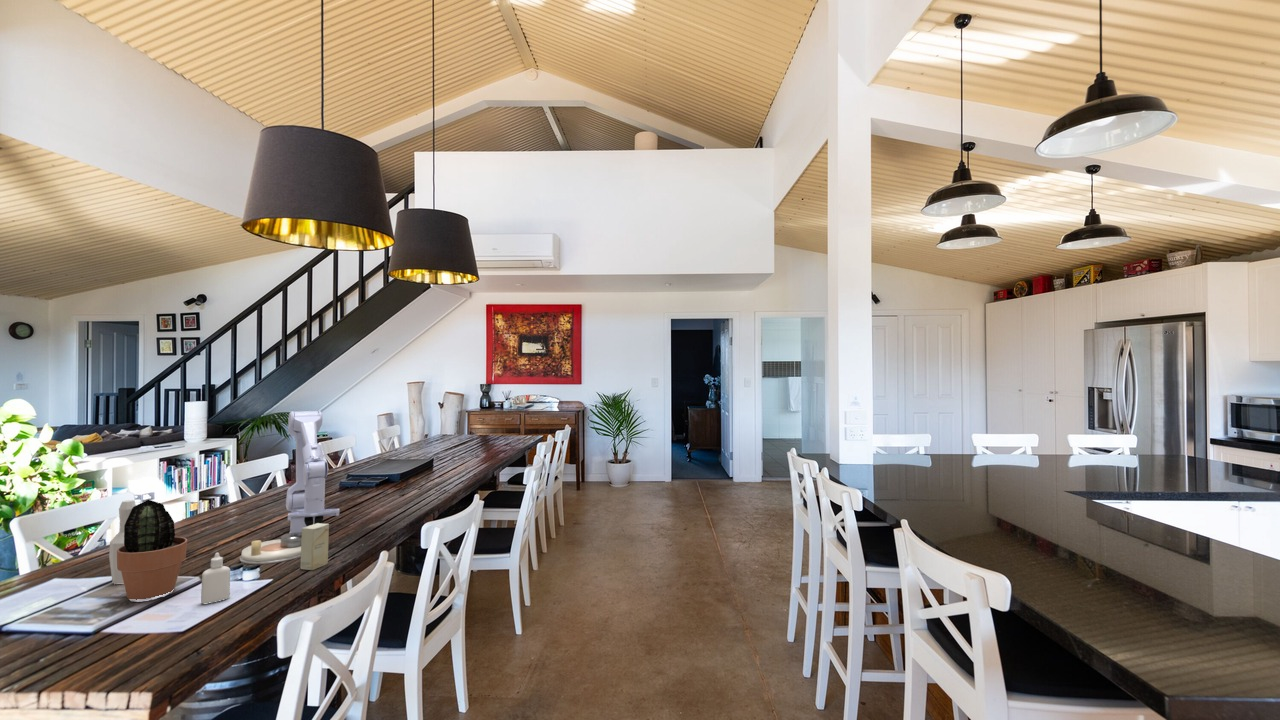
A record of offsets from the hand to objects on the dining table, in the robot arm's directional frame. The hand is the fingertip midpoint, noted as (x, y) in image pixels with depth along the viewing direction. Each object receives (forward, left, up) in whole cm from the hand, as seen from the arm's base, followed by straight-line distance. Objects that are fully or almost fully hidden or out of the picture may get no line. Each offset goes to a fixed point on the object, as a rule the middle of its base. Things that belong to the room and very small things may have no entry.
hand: (313, 539), depth 179 cm
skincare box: (+18, +1, -3) cm, 18 cm away
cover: (0, -5, -1) cm, 6 cm away
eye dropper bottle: (+35, -20, -3) cm, 40 cm away
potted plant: (+24, -35, -3) cm, 43 cm away
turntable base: (0, -10, -3) cm, 10 cm away
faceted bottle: (+9, -44, -3) cm, 45 cm away
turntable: (0, -10, -3) cm, 10 cm away
